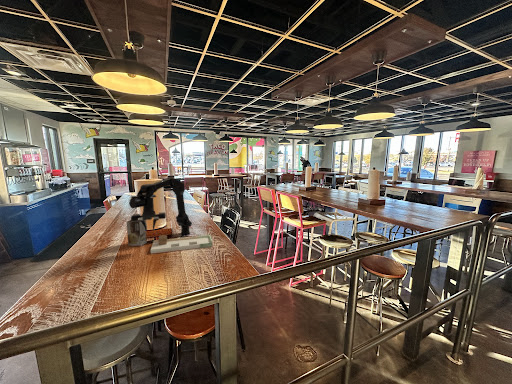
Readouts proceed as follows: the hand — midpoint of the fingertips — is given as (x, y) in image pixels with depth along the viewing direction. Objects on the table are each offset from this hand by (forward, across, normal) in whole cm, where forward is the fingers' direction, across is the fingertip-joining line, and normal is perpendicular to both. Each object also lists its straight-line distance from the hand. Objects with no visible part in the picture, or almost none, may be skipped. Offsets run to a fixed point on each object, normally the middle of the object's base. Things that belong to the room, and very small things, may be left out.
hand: (150, 229), depth 130 cm
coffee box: (+12, -10, +11) cm, 19 cm away
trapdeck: (+12, +19, -2) cm, 23 cm away
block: (+10, +7, 0) cm, 12 cm away
